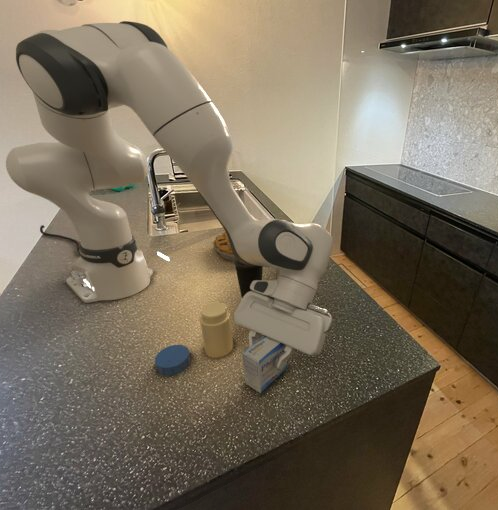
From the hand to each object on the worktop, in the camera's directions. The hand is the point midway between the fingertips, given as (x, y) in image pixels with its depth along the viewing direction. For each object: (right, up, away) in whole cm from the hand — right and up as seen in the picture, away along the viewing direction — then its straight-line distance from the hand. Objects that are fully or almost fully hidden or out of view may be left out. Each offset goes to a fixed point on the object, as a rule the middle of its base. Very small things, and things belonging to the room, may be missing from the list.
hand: (263, 361), depth 61 cm
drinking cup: (-9, +8, +24) cm, 27 cm away
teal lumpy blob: (-101, +56, +103) cm, 155 cm away
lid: (-20, 0, +3) cm, 20 cm away
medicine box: (0, -4, +3) cm, 5 cm away
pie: (-20, +23, +52) cm, 60 cm away
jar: (-12, 0, +9) cm, 15 cm away
